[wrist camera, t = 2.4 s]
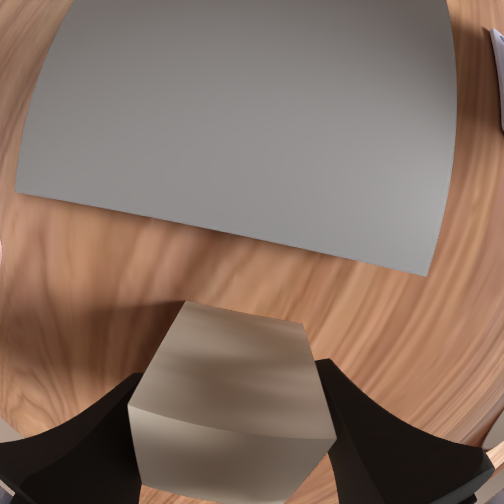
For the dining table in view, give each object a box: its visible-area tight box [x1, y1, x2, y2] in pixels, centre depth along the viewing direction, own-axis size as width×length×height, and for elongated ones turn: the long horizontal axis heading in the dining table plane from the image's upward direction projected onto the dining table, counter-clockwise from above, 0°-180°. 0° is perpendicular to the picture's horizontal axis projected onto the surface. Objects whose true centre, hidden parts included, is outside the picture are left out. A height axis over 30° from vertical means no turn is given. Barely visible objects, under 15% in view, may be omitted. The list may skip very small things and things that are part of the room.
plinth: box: [15, 0, 457, 277], centre depth 7 cm, size 14×14×3 cm
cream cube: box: [128, 301, 337, 504], centre depth 8 cm, size 5×5×6 cm
